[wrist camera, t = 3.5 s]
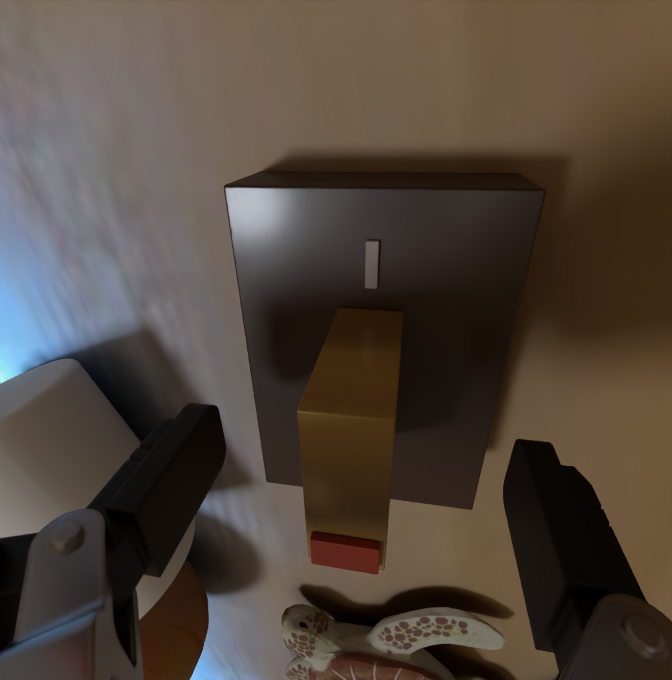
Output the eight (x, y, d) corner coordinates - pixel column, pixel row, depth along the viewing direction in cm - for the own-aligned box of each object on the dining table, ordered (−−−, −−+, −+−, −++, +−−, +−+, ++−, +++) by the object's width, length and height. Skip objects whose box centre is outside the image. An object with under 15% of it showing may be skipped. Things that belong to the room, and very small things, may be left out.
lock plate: (258, 171, 14) (219, 185, 11) (520, 172, 12) (549, 189, 10) (285, 434, 20) (264, 485, 17) (464, 454, 18) (472, 514, 16)
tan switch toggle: (338, 306, 12) (292, 418, 8) (403, 310, 12) (395, 429, 8) (340, 429, 15) (306, 567, 10) (394, 435, 14) (383, 580, 10)
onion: (240, 526, 26) (63, 554, 18) (239, 723, 22) (21, 856, 15) (160, 528, 31) (-1, 549, 24) (149, 685, 28) (-43, 769, 20)
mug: (113, 339, 18) (-273, 628, 8) (222, 493, 23) (59, 812, 12) (-2, 378, 21) (-399, 631, 11) (115, 508, 25) (-92, 781, 15)
